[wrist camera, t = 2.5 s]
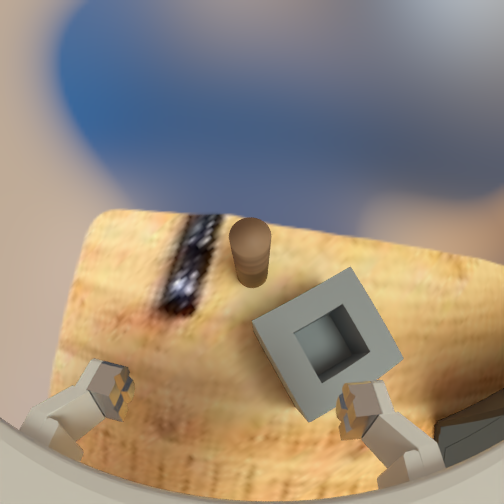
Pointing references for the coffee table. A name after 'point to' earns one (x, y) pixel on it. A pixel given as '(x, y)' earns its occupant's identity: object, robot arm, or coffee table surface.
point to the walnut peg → (251, 250)
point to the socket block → (326, 343)
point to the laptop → (471, 430)
